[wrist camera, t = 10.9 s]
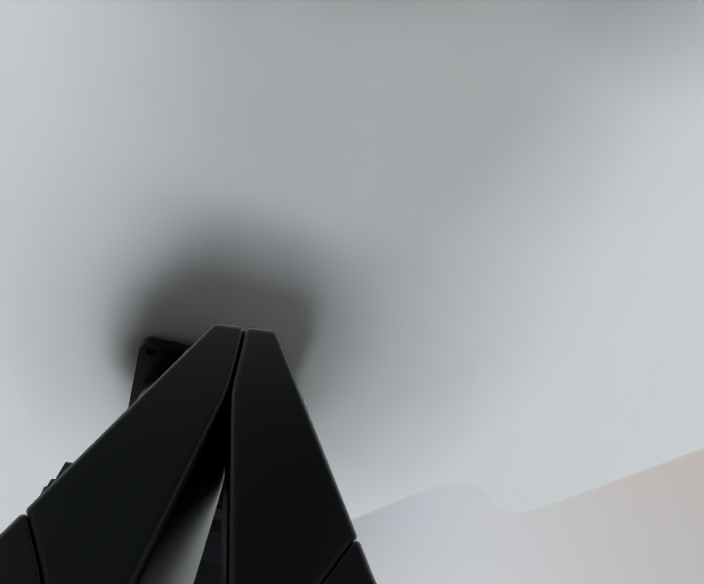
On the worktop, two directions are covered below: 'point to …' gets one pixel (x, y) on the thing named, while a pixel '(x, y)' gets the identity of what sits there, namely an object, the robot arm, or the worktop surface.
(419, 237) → the worktop surface
